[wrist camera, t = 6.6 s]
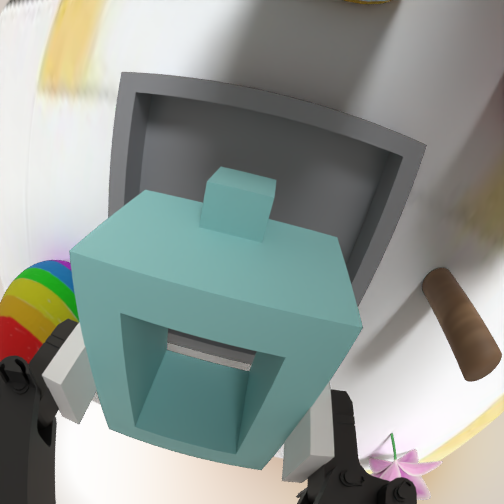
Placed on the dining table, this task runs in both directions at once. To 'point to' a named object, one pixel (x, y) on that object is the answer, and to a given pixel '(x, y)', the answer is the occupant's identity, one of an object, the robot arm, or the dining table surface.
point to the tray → (264, 164)
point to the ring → (212, 318)
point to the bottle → (368, 1)
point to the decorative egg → (36, 307)
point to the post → (461, 325)
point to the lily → (404, 470)
